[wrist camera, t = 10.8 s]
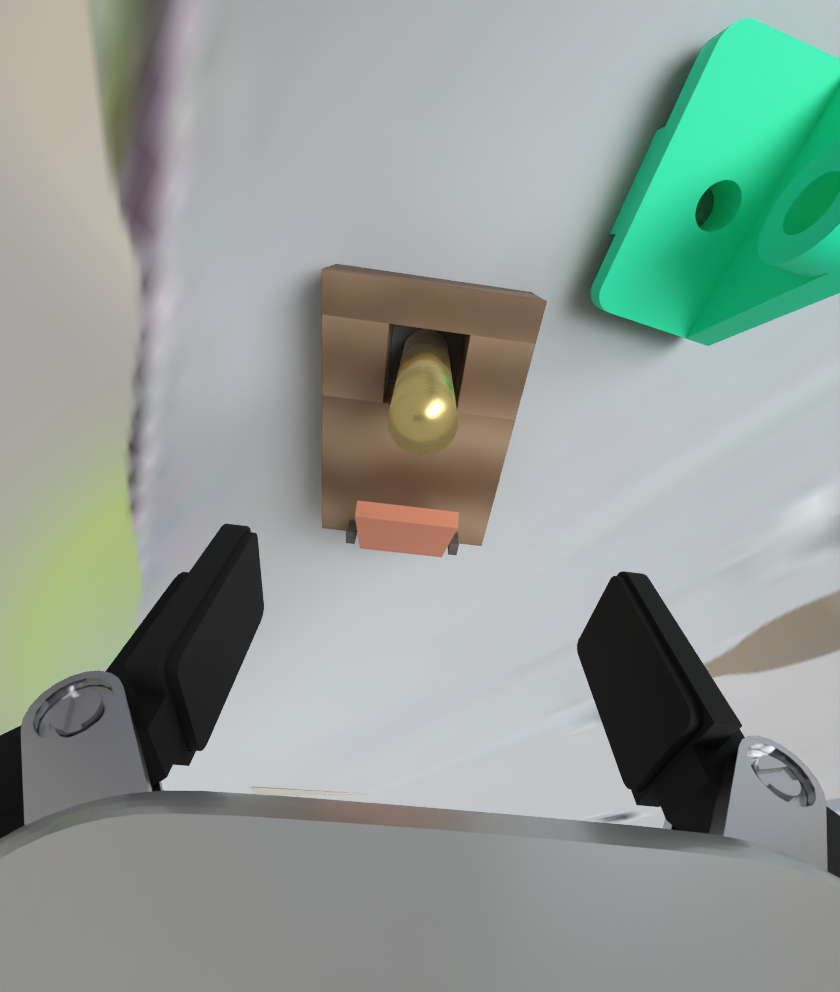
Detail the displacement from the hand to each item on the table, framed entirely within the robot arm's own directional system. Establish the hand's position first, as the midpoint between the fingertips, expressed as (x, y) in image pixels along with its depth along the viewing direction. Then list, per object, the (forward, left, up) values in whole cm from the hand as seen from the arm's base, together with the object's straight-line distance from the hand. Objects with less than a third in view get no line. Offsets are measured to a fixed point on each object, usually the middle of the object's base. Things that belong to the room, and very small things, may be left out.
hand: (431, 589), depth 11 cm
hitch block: (+3, 0, -20) cm, 21 cm away
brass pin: (-1, 0, -21) cm, 21 cm away
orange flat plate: (+9, 0, -14) cm, 17 cm away
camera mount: (-11, +13, -21) cm, 27 cm away
